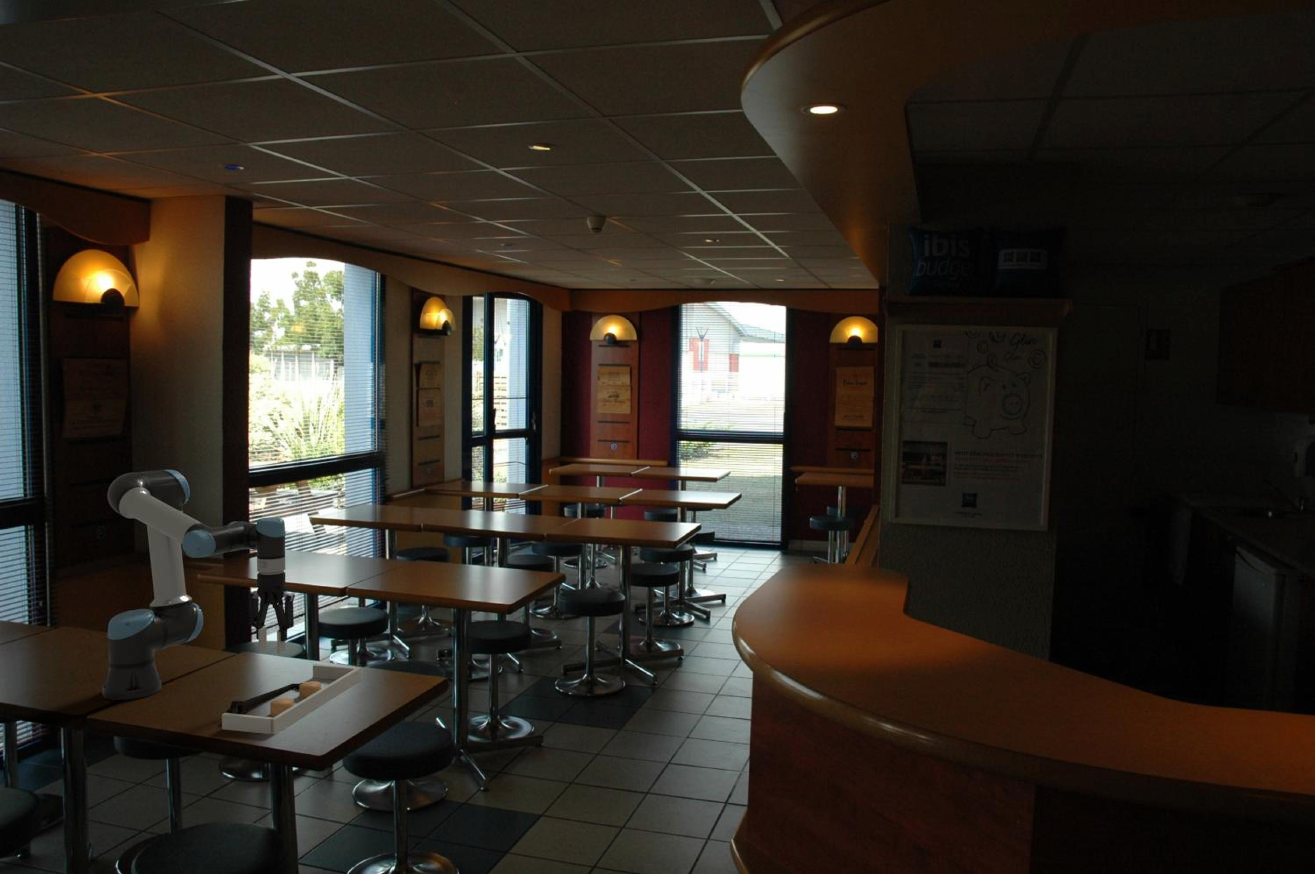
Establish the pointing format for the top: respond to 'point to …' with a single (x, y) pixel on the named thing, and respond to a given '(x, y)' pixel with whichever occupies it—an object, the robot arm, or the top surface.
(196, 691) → the top surface
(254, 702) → the black hooked stick
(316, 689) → the puck
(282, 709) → the puck
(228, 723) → the chip tray
